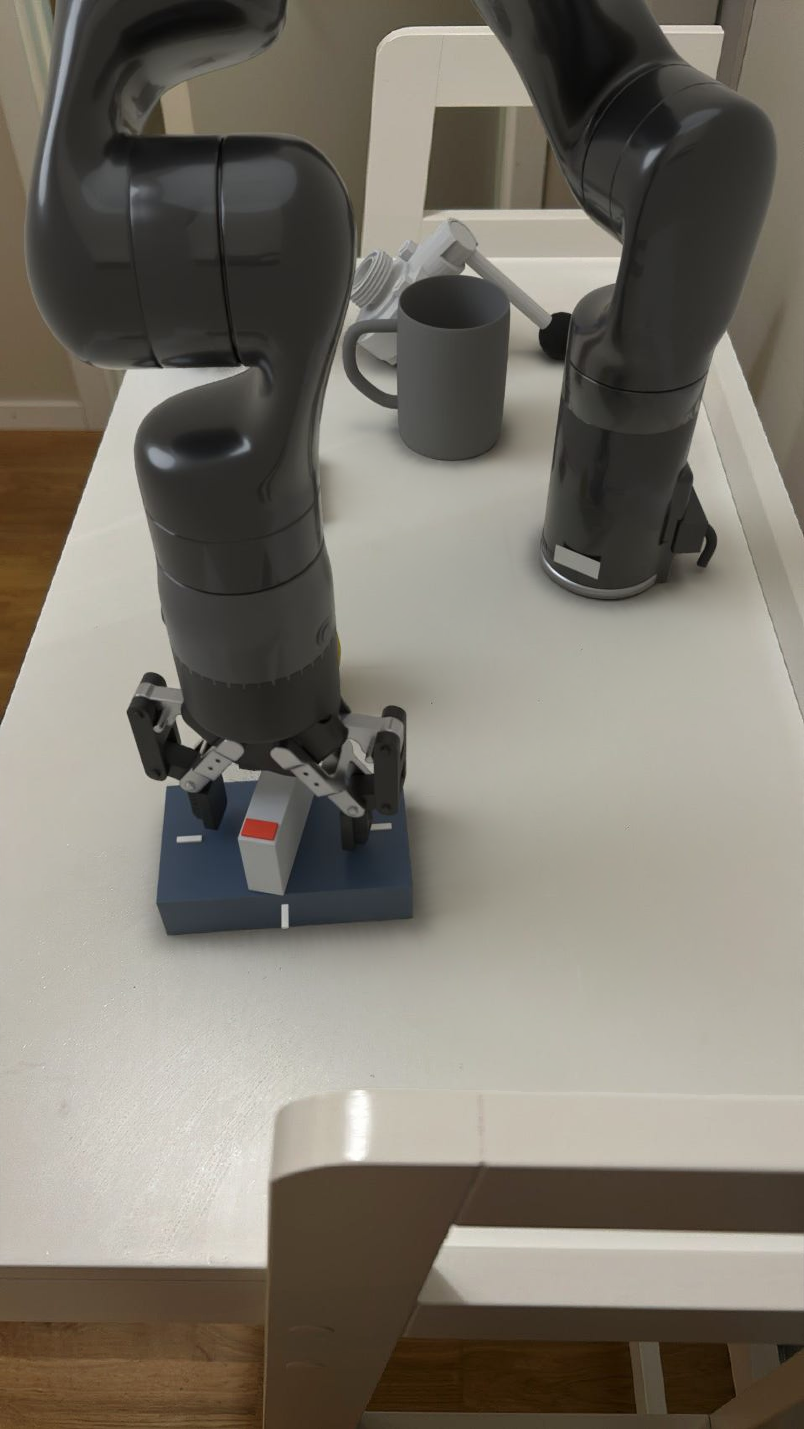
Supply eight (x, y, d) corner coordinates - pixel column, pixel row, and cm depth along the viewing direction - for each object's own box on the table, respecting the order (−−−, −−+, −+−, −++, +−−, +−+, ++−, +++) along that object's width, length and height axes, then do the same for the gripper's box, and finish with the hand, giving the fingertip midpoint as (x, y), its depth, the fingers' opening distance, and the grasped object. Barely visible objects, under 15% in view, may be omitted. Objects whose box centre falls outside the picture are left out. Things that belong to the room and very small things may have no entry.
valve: (480, 462, 104) (594, 368, 95) (321, 342, 95) (430, 224, 85) (483, 397, 111) (591, 303, 101) (334, 279, 101) (437, 162, 91)
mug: (498, 402, 95) (508, 273, 85) (504, 462, 89) (515, 330, 79) (348, 402, 95) (342, 273, 86) (343, 462, 89) (336, 331, 80)
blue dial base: (399, 778, 67) (399, 742, 64) (415, 951, 59) (416, 918, 56) (178, 792, 66) (168, 756, 63) (164, 968, 58) (152, 936, 55)
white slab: (285, 775, 62) (277, 718, 58) (318, 780, 62) (312, 723, 58) (248, 890, 57) (236, 836, 53) (283, 896, 57) (274, 842, 53)
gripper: (423, 581, 48) (419, 793, 61) (129, 545, 50) (183, 758, 62) (392, 701, 43) (395, 904, 56) (68, 656, 45) (140, 863, 58)
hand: (283, 827), depth 59 cm, fingers open, 7 cm apart
